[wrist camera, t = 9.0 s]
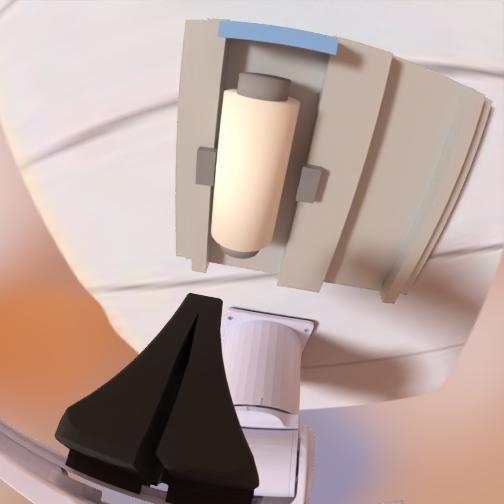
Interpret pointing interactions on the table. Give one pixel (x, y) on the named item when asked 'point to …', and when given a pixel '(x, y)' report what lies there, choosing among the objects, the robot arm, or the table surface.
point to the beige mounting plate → (330, 155)
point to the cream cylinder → (252, 162)
